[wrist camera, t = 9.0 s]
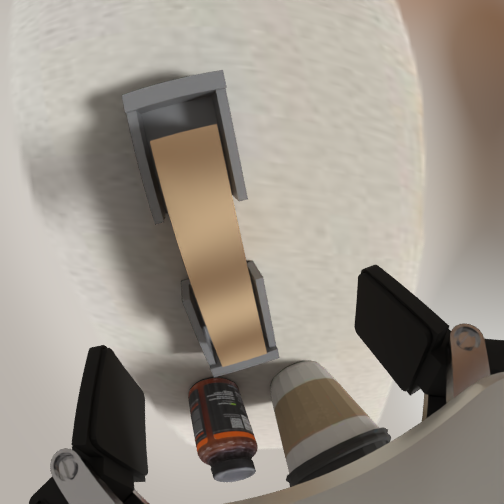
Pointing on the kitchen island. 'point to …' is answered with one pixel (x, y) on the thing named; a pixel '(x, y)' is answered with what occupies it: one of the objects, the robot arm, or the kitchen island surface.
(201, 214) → the light wood rectangular block
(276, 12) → the kitchen island surface
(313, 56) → the kitchen island surface
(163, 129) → the cap
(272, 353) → the cap
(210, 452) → the supplement bottle
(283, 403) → the coffee cup
